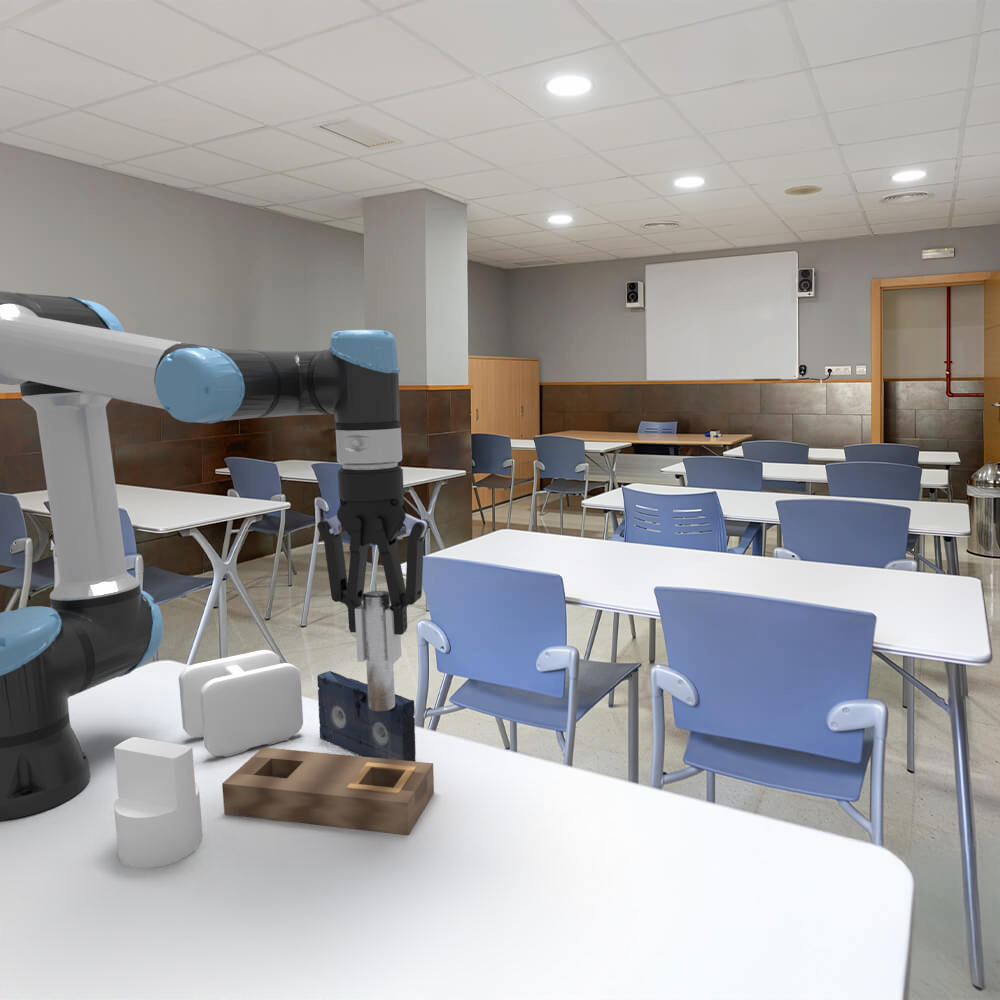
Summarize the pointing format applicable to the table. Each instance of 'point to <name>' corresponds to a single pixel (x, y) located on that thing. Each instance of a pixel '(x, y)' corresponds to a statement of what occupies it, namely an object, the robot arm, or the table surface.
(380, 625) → the lock pin
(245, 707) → the cable organizer
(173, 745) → the cylinder with rectangular tab
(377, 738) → the vhs cassette tape
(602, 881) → the table surface
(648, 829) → the table surface
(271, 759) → the mount block
